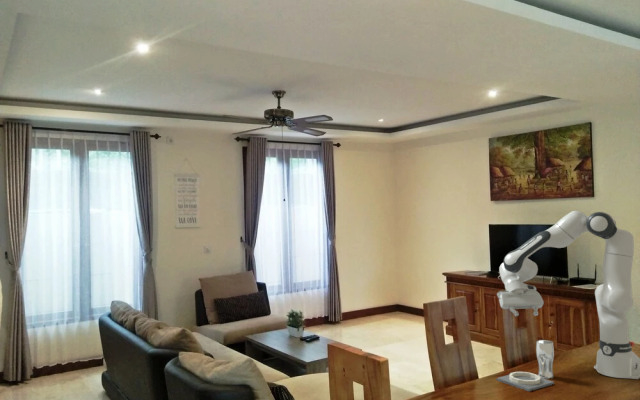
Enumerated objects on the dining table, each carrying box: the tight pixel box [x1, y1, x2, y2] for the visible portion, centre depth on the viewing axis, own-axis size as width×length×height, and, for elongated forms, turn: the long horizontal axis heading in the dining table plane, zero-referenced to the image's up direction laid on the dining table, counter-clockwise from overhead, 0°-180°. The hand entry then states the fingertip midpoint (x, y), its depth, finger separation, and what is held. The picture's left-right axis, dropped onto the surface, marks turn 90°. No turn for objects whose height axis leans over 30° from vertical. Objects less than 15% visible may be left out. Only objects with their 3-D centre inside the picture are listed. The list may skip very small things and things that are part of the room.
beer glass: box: [535, 339, 555, 380], centre depth 216 cm, size 7×7×15 cm
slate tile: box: [496, 371, 555, 392], centre depth 209 cm, size 16×16×2 cm
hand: (526, 315), depth 230 cm, fingers open, 8 cm apart
